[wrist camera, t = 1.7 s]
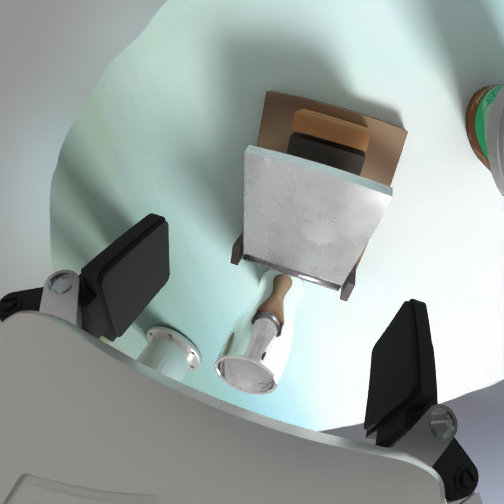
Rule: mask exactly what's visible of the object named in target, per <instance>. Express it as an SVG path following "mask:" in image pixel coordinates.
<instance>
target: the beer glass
mask: <svg viewBox="0 0 504 504" xmlns="http://www.w3.org/2000/svg"><path fill="white" fill-rule="evenodd" d="M303 295H304V284H303V281H302V280H301V279H299V278H296V277H293V276H290V275H287V274H284V273H281V272H278V271H275V270H272V269H270V270H268V271H266V272H265V273H264V274H263V275H262V277H261V279H260V283H259V288H258V292H257V294H256V296H255V298H254V299H253V300H252V302H251V303H250V304H249V305H248V306H247V307H246V309H245V310H244V311H243V312H242V313H241V315H240V316H239V317H238V319H237V320H236V321H235V323H234V324H233V326H232V328H231V330H230V331H229V333H228V335H227V337H226V339H225V341H224V344H223V346H222V349H221V351H220V354H219V356H218V359H217V360H216V362H215V370H216V372H217V374H218V375H219V377H220V378H221V379H222V380H223V381H225V382H226V383H227V384H229V385H230V386H232V387H234V388H236V389H238V390H241V391H243V392H247V393H251V394H267V393H270V392H272V391H274V390H275V389H276V387H277V384H278V382H279V379H280V377H281V375H282V373H283V370H284V368H285V366H286V363H287V360H288V357H289V354H290V350H291V347H292V341H293V332H294V318H295V311H296V307H297V305H298V304H299V302H300V300H301V299H302V297H303Z"/></svg>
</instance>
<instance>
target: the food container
mask: <svg viewBox="0 0 504 504" xmlns="http://www.w3.org/2000/svg"><path fill="white" fill-rule="evenodd" d="M466 131H467V136H468V139H469V142H470V145H471V147H472V149H473V151H474V153H475V154H476V156H477V157H478V159H479V160H480V161H481V162H482V163H483V164H484V165H485V166H486V167H487V168H488V169H489V170H490V172H491V173H492V175H493V178H494V180H495V183H496V185H497V188H498V189H499V191H500V193H501V194H502V195H503V196H504V85H497V86H489V87H484V88H482V89H480V90H479V91H477V92H476V93H475V94H474V95H473V97H472V98H471V100H470V102H469V105H468V108H467V112H466Z"/></svg>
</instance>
